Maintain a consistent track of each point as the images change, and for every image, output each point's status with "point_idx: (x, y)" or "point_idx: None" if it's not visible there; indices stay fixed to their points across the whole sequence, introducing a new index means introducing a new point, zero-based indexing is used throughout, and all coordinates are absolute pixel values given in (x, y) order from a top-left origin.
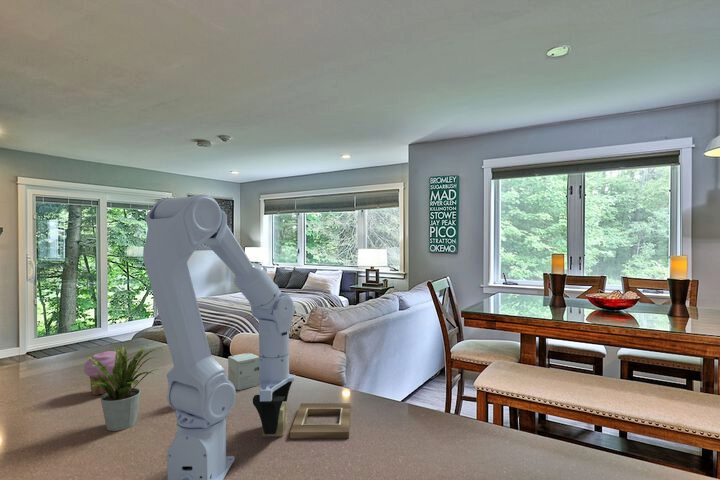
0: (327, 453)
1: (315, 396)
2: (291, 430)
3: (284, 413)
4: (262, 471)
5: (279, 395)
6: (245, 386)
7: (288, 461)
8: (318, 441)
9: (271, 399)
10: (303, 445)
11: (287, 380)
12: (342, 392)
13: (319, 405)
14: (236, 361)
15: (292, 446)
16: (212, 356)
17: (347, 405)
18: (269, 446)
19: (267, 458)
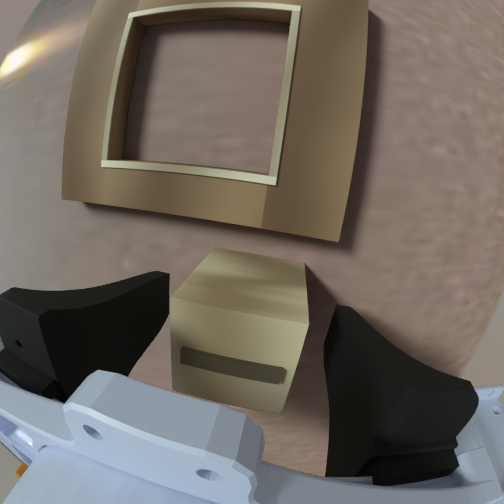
0: (461, 102)
1: (12, 154)
2: (322, 235)
3: (259, 294)
4: (487, 312)
5: (117, 340)
6: None
7: (477, 242)
8: (379, 114)
9: (478, 452)
10: (400, 180)
11: (275, 489)
12: (9, 72)
13: (83, 113)
14: None
15: (398, 225)
16: (16, 472)
17: (111, 4)
18: (372, 310)
19: (440, 308)
